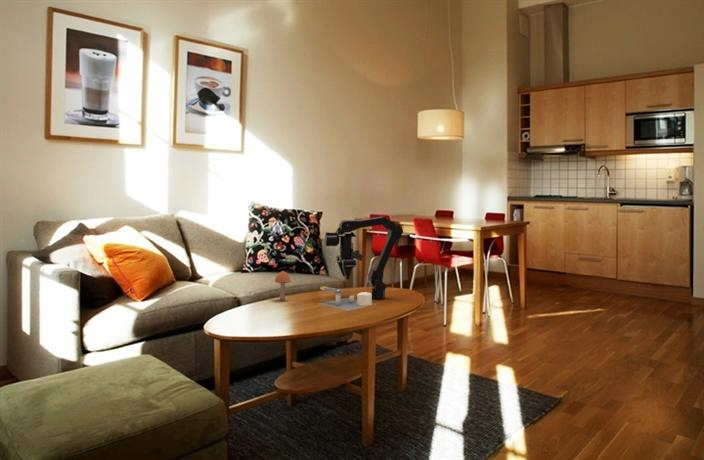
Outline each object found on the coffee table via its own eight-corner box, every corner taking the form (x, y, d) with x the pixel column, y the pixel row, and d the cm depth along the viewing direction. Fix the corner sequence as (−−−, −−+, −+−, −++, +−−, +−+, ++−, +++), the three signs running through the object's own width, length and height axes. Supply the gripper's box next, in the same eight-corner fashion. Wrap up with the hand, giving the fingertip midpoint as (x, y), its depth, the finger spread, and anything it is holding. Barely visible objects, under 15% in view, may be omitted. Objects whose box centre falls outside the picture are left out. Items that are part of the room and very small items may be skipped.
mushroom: (288, 302, 247) (287, 272, 246) (272, 302, 249) (272, 271, 248) (293, 299, 255) (293, 269, 254) (278, 298, 257) (277, 269, 256)
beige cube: (360, 301, 243) (360, 291, 242) (371, 302, 241) (371, 292, 240) (357, 304, 238) (357, 293, 237) (368, 305, 236) (368, 294, 235)
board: (346, 300, 254) (346, 285, 254) (376, 306, 240) (376, 291, 240) (317, 306, 241) (317, 291, 240) (347, 313, 227) (347, 297, 226)
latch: (343, 292, 237) (343, 289, 237) (338, 293, 234) (338, 290, 234) (324, 288, 245) (324, 286, 245) (319, 289, 242) (319, 287, 242)
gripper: (366, 247, 240) (366, 280, 241) (357, 243, 258) (357, 274, 259) (343, 248, 238) (343, 281, 239) (336, 244, 256) (336, 274, 257)
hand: (345, 277), depth 249 cm, fingers open, 9 cm apart
